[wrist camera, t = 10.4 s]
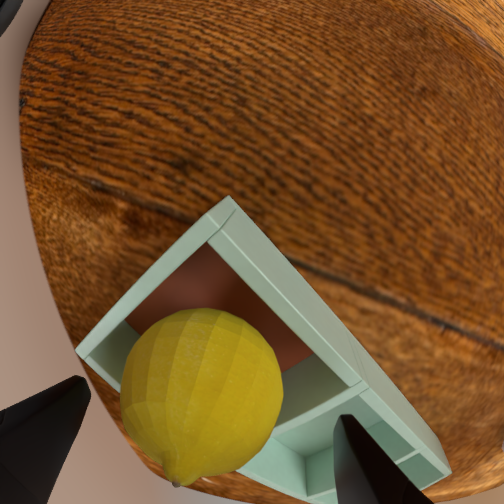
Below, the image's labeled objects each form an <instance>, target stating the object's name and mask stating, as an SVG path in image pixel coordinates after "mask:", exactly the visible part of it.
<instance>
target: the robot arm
mask: <svg viewBox="0 0 504 504" xmlns="http://www.w3.org/2000/svg"><path fill="white" fill-rule="evenodd" d="M4 2H5V0H0V8H1V6H2V5H3V3H4ZM90 399H91V391H90V389H89V386H88V384H87V381H86V379H85V378H84V377H81V376H78V375H74V376H72V377H70V378H68V379H66V380H64V381H62V382H60V383H58V384H56V385H54V386H52V387H50V388H48V389H46V390H44V391H42V392H39V393H37V394H35V395H33V396H31V397H29V398H27V399H25V400H23V401H21V402H19V403H16V404H14V405H12V406H10V407H8V408H6V409H4V410H2V411H0V504H47V502H48V499H49V497H50V494H51V492H52V490H53V487H54V485H55V482H56V479H57V477H58V475H59V473H60V470H61V468H62V466H63V464H64V462H65V459H66V457H67V455H68V453H69V451H70V448H71V446H72V444H73V442H74V440H75V438H76V436H77V434H78V431H79V429H80V427H81V424H82V421H83V418H84V416H85V413H86V410H87V407H88V404H89V402H90ZM333 455H334V478H335V485H336V492H337V500H338V504H434V503H433V502H432V501H431V500H430V499H429V498H427V497H426V496H425V495H424V494H423V493H422V492H421V491H420V490H419V489H418V488H417V487H416V486H415V485H414V484H413V482H412V481H411V480H409V478H408V477H407V476H406V475H405V474H404V473H403V472H402V470H401V469H400V468H399V467H398V466H397V465H396V464H395V463H394V461H393V460H392V459H391V458H390V457H389V456H388V455H387V454H386V452H385V451H384V450H383V449H382V448H381V447H380V446H379V444H378V443H377V442H376V441H375V440H374V439H373V438H372V436H371V435H370V434H369V433H368V432H367V431H366V429H365V428H364V427H363V426H362V425H361V424H360V423H359V421H358V420H357V419H356V418H355V417H354V416H353V415H352V414H341V415H340V416H339V417H338V420H337V422H336V425H335V427H334V430H333Z"/></svg>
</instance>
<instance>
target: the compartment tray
mask: <svg viewBox="0 0 504 504" xmlns="http://www.w3.org/2000/svg"><path fill="white" fill-rule="evenodd" d="M197 308H211V309H216V310H222V311H226V312H228V313H230V314H233V315H235V316H237V317H239V318H242V319H243V320H245V321H246V322H247V323H249V324H250V325H251V326H253V327H254V328H255V329H256V330H258V331H259V333H260V334H261V335H262V336H263V338H264V339H265V340H266V341H267V343H268V344H269V345H270V347H271V348H272V349H273V351H274V353H275V356H276V359H277V362H278V365H279V367H280V371H281V378H282V385H283V393H284V395H283V400H282V405H281V410H280V413H279V416H278V418H277V421H276V424H275V426H274V429H273V431H272V433H271V436H270V438H269V439H268V441H267V442H266V444H265V445H264V447H263V448H262V450H261V451H260V452H259V453H258V454H256V455H255V456H254V457H253V458H252V459H251V460H250V461H249V462H247V463H246V464H245V465H244V466H242V467H241V468H240V469H238V470H235V471H237V472H239V473H241V474H243V475H245V476H247V477H249V478H251V479H253V480H255V481H257V482H259V483H262V484H264V485H266V486H268V487H271V488H273V489H275V490H278V491H280V492H282V493H285V494H287V495H290V496H292V497H295V498H298V499H300V500H303V501H306V502H309V503H312V504H338V500H337V492H336V485H335V478H334V455H333V430H334V427H335V425H336V422H337V420H338V417H339V416H340V415H341V414H352V415H353V416H354V417H355V418H356V419H357V420H358V421H359V423H360V424H361V425H362V426H363V427H364V428H365V429H366V431H367V432H368V433H369V434H370V435H371V436H372V438H373V439H374V440H375V441H376V442H377V443H378V444H379V446H380V447H381V448H382V449H383V450H384V451H385V452H386V454H387V455H388V456H389V457H390V458H391V459H392V460H393V461H394V463H395V464H396V465H397V466H398V467H399V468H400V469H401V470H402V472H403V473H404V474H405V475H406V476H407V477H408V478H409V480H411V481H412V482H413V484H414V485H415V486H416V487H417V488H418V489H419V490H420V491H421V490H423V489H425V488H427V487H429V486H431V485H432V484H434V483H436V482H438V481H440V480H441V479H443V478H445V477H447V476H448V475H450V474H452V470H451V468H450V465H449V463H448V460H447V458H446V455H445V453H444V451H443V448H442V446H441V444H440V441H439V439H438V437H437V436H436V435H435V434H434V432H433V431H432V430H431V429H430V427H429V426H428V425H427V424H426V422H425V421H424V420H423V419H422V417H421V416H420V415H419V414H418V413H417V411H416V410H415V409H414V408H413V406H412V405H411V404H410V403H409V401H408V400H407V399H406V398H405V397H404V395H403V394H402V393H401V392H400V391H399V389H398V388H397V387H396V386H395V385H394V383H393V382H392V381H391V380H390V378H389V377H388V376H387V375H386V374H385V372H384V371H383V370H382V369H381V368H380V367H379V365H378V364H377V363H376V362H375V361H374V359H373V358H372V357H371V356H370V355H369V353H368V352H367V351H366V350H365V349H364V348H363V346H362V345H361V344H360V343H359V342H358V340H357V339H356V338H355V337H354V336H353V335H352V333H351V332H350V331H349V330H348V329H347V328H346V326H345V325H344V324H343V323H342V322H341V321H340V319H339V318H338V317H337V316H336V315H335V314H334V313H333V311H332V310H331V309H330V308H329V307H328V306H327V304H326V303H325V302H324V301H323V300H322V299H321V298H320V296H319V295H318V294H317V293H316V292H315V291H314V290H313V288H312V287H311V286H310V285H309V284H308V283H307V282H306V280H305V279H304V278H303V277H302V276H301V275H300V274H299V272H298V271H297V270H296V269H295V268H294V267H293V266H292V265H291V263H290V262H289V261H288V260H287V259H286V258H285V257H284V256H283V254H282V253H281V252H280V251H279V250H278V249H277V248H276V247H275V245H274V244H273V243H272V242H271V241H270V240H269V239H268V238H267V237H266V235H265V234H264V233H263V232H262V231H261V230H260V229H259V228H258V227H257V225H256V224H255V223H254V222H253V221H252V220H251V219H250V218H249V217H248V216H247V214H246V213H245V212H244V211H243V210H242V209H241V208H240V207H239V206H238V205H237V203H236V202H235V201H234V200H233V199H232V198H231V197H230V196H229V195H228V196H227V197H225V198H224V199H223V200H221V201H220V202H219V203H218V204H216V205H215V206H214V207H212V208H211V209H210V210H209V211H207V212H206V213H205V214H204V215H203V216H202V217H201V218H200V219H198V220H197V221H196V222H195V223H194V224H193V225H192V226H191V227H190V228H189V229H188V230H187V231H186V232H185V233H184V234H183V235H182V236H181V237H180V238H179V239H178V240H177V241H176V242H175V243H174V244H173V245H172V246H171V247H170V248H169V249H168V250H167V251H166V252H165V253H164V254H163V255H162V256H161V257H160V258H159V259H158V260H157V261H156V262H155V263H154V264H153V265H152V266H151V267H150V268H149V269H148V270H147V271H146V272H145V273H144V274H143V275H142V276H141V277H140V278H139V279H138V280H137V281H136V282H135V283H134V284H133V286H132V287H131V288H130V289H129V290H128V291H127V292H126V293H125V294H124V295H123V296H122V297H121V298H120V299H119V300H118V302H117V303H116V304H115V305H114V306H113V307H112V308H111V309H110V310H109V311H108V312H107V314H106V315H105V316H104V317H103V318H102V319H101V320H100V321H99V322H98V324H97V325H96V326H95V327H94V328H93V329H92V330H91V331H90V333H89V334H88V335H87V336H86V337H85V338H84V339H83V341H82V342H81V343H80V344H79V345H78V346H77V348H76V349H75V352H76V353H77V354H78V355H79V356H80V357H81V358H82V359H83V360H84V359H85V360H84V361H85V362H86V363H87V364H88V365H89V366H90V367H91V368H92V369H93V370H94V371H95V372H97V373H98V374H99V375H100V376H101V377H102V378H103V379H104V380H105V381H106V382H108V383H109V384H110V385H111V386H112V387H113V388H114V389H116V390H117V391H118V392H119V393H120V387H121V382H122V377H123V372H124V368H125V364H126V360H127V357H128V355H129V353H130V351H131V350H132V348H133V346H134V344H135V343H136V342H137V341H138V339H139V338H140V337H141V336H142V335H143V334H144V333H145V332H146V331H147V330H148V329H149V328H150V327H151V326H152V325H153V324H154V323H156V322H158V321H160V320H161V319H163V318H165V317H167V316H169V315H172V314H174V313H176V312H178V311H181V310H187V309H197Z"/></svg>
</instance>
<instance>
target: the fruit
mask: <svg viewBox="0 0 504 504" xmlns="http://www.w3.org/2000/svg"><path fill="white" fill-rule="evenodd" d="M283 395H284V393H283V385H282V378H281V371H280V367H279V365H278V362H277V359H276V356H275V353H274V351H273V349H272V348H271V347H270V345H269V344H268V343H267V341H266V340H265V339H264V338H263V336H262V335H261V334H260V333H259V331H258V330H256V329H255V328H254V327H253V326H251V325H250V324H249V323H247V322H246V321H245V320H243V319H242V318H239V317H237V316H235V315H233V314H230V313H228V312H226V311H222V310H216V309H211V308H197V309H187V310H181V311H178V312H176V313H174V314H172V315H169V316H167V317H165V318H163V319H161V320H160V321H158V322H156V323H154V324H153V325H152V326H151V327H150V328H149V329H148V330H147V331H146V332H145V333H144V334H143V335H142V336H141V337H140V338H139V339H138V341H137V342H136V343H135V344H134V346H133V348H132V350H131V351H130V353H129V355H128V357H127V360H126V364H125V368H124V372H123V377H122V382H121V387H120V408H121V415H122V421H123V424H124V428H125V430H126V431H127V433H128V434H129V436H130V437H131V438H132V439H133V440H134V442H135V443H136V444H137V445H138V446H139V447H140V448H141V450H142V451H143V452H144V453H145V454H146V455H147V456H149V457H150V458H151V459H153V460H154V461H155V462H157V463H159V464H161V465H163V470H164V473H165V475H166V477H167V479H168V480H170V481H171V482H172V485H173V486H174V487H180V486H186V485H190V484H191V483H193V482H194V481H196V480H197V479H198V478H199V477H200V476H215V475H220V474H225V473H229V472H232V471H235V470H238V469H240V468H241V467H242V466H244V465H245V464H246V463H247V462H249V461H250V460H251V459H252V458H253V457H254V456H255V455H256V454H258V453H259V452H260V451H261V450H262V448H263V447H264V445H265V444H266V442H267V441H268V439H269V438H270V436H271V433H272V431H273V429H274V426H275V424H276V421H277V418H278V416H279V413H280V410H281V405H282V400H283Z"/></svg>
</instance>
